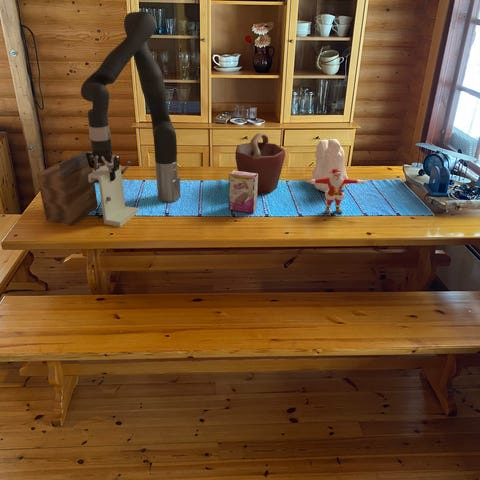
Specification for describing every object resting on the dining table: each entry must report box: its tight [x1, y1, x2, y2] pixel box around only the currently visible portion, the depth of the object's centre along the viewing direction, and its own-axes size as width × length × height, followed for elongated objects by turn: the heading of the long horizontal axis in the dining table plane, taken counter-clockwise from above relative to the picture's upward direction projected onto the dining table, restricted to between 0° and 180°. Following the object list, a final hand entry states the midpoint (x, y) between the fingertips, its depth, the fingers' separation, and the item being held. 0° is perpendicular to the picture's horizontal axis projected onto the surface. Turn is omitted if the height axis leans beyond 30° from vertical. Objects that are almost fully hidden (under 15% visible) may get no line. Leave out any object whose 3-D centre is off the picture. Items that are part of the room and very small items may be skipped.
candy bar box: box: [228, 169, 258, 214], centre depth 199 cm, size 11×5×16 cm, turn 71°
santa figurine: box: [304, 169, 367, 214], centre depth 198 cm, size 25×6×19 cm, turn 90°
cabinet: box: [36, 150, 99, 227], centre depth 191 cm, size 12×18×25 cm, turn 161°
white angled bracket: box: [88, 162, 139, 227], centre depth 190 cm, size 12×14×20 cm
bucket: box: [235, 133, 286, 195], centre depth 219 cm, size 24×22×25 cm
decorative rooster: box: [311, 138, 349, 192], centre depth 221 cm, size 25×16×25 cm, turn 2°
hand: (105, 179), depth 188 cm, fingers closed on white angled bracket, 5 cm apart
